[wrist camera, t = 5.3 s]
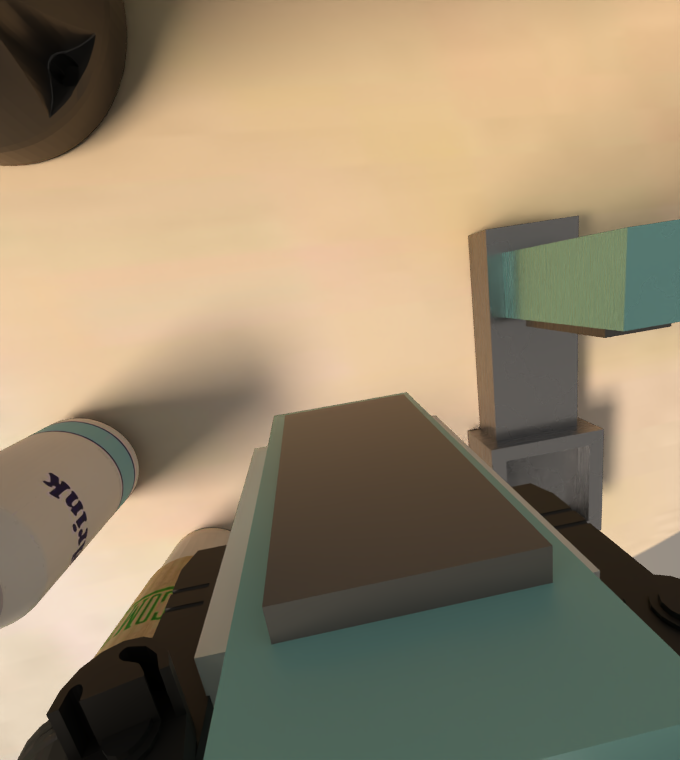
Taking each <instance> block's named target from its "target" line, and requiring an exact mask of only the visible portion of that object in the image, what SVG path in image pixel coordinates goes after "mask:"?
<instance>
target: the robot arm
mask: <svg viewBox="0 0 680 760" xmlns="http://www.w3.org/2000/svg"><path fill="white" fill-rule="evenodd" d="M126 43H127V32H126V17H125V10H124V3H123V0H0V165H1V166H17V165H27V164H33V163H38V162H42V161H45V160H48V159H51V158H54V157H56V156H58V155H61V154H63V153H65V152H67V151H68V150H70V149H72V148H73V147H75V146H76V145H78V144H79V143H80V142H82V141H83V140H84V139H85V138H86V137H88V136H89V135H90V133H91V132H92V131H93V130H94V129H95V128H96V127H97V126H98V125H99V123H100V122H101V121H102V119H103V118H104V116H105V115H106V114H107V112H108V110H109V108H110V106H111V105H112V103H113V100H114V98H115V96H116V94H117V91H118V88H119V85H120V82H121V78H122V74H123V69H124V64H125V57H126ZM432 417H433V418H434V419H435V420H436V421H437V422H438V423H439V424H440V425H441V426H442V427H443V428H444V429H445V430H446V431H447V432H448V433H449V434H450V435H451V436H452V437H453V438H454V439H455V440H456V441H457V442H458V443H460V444H461V445H462V446H463V447H464V448H465V449H466V450H467V451H468V452H469V453H470V454H471V455H472V456H473V457H474V458H475V459H476V460H477V461H478V462H479V463H480V464H481V465H482V466H483V467H484V468H485V469H486V470H487V471H488V472H490V473H491V474H492V475H493V476H494V477H495V478H496V479H497V480H498V481H499V482H500V483H501V484H502V485H503V486H504V487H505V488H506V489H507V490H508V491H509V492H510V493H511V494H512V495H513V496H514V497H515V498H516V499H517V500H518V501H520V502H521V503H522V504H523V505H524V506H525V507H526V508H527V509H528V510H529V511H530V512H531V513H532V514H533V515H534V516H535V517H536V518H537V519H538V520H539V521H540V522H541V523H542V524H543V525H544V526H545V527H546V528H547V529H548V530H550V531H551V532H552V533H553V534H554V535H555V536H556V537H557V538H558V539H559V540H560V541H561V542H562V543H563V544H564V545H565V546H566V547H567V548H568V549H569V550H570V551H571V552H572V553H573V554H574V555H575V556H576V557H577V558H578V559H580V560H581V561H582V562H583V563H584V564H585V565H586V566H587V567H588V568H589V569H590V570H591V571H592V572H593V573H594V574H595V575H596V576H597V577H598V578H599V579H600V580H601V581H602V582H603V583H604V584H605V585H606V586H607V587H608V588H610V589H611V590H612V591H613V592H614V593H615V594H616V595H617V596H618V597H619V598H620V599H621V600H622V601H623V602H624V603H625V604H626V605H627V606H628V607H629V608H630V609H631V610H632V611H633V612H634V613H635V614H636V615H637V616H638V617H640V618H641V619H642V620H643V621H644V622H645V623H646V624H647V625H648V626H649V627H650V628H651V629H652V630H653V631H654V632H655V633H656V634H657V635H658V636H659V637H660V638H661V639H662V640H663V641H664V642H665V643H666V644H667V645H668V646H670V647H671V648H672V649H673V650H674V651H675V652H676V653H677V654H678V655H679V656H680V579H678V578H675V577H672V576H664V575H653V574H652V573H651V572H650V571H648V570H647V569H646V568H645V567H644V566H642V565H641V564H639V563H638V562H637V561H636V560H635V559H634V558H632V557H631V556H630V555H629V554H628V553H626V552H625V551H624V550H623V549H621V548H620V547H619V546H618V545H616V544H615V543H614V542H613V541H612V540H610V539H609V538H608V537H607V536H605V535H604V534H603V533H602V532H600V531H599V530H598V529H597V528H596V527H594V526H593V525H592V524H591V523H587V522H586V519H584V518H583V517H582V516H581V515H580V514H578V513H577V512H576V511H575V510H574V511H572V509H571V507H570V506H568V505H567V504H566V503H565V502H563V501H562V500H561V499H560V498H559V497H557V496H556V495H555V494H554V493H552V492H549V491H547V490H545V489H543V488H540V487H538V486H536V485H534V484H531V483H529V484H524V485H519V486H514V487H511V486H510V485H509V484H508V483H506V482H505V481H504V480H503V479H502V478H501V477H500V476H499V475H498V474H497V473H496V472H495V471H494V470H493V469H492V468H491V467H490V466H488V465H487V464H486V463H485V462H484V461H483V460H482V459H481V458H480V457H479V456H478V455H477V454H476V453H475V452H474V451H473V450H472V449H471V448H469V447H468V446H467V445H466V444H465V443H464V442H463V441H462V440H461V439H460V438H459V437H458V436H457V435H456V434H455V433H454V432H453V431H451V430H450V429H449V428H448V427H447V426H446V425H445V424H444V423H443V422H442V421H441V420H440V419H439V418H438V417H437V416H432ZM267 448H268V446H266V447H260V448H255V449H254V453H253V456H252V460H251V463H250V467H249V470H248V474H247V477H246V481H245V484H244V487H243V491H242V494H241V498H240V501H239V505H238V508H237V512H236V515H235V519H234V522H233V525H232V529H231V532H230V536H229V539H228V543H227V545H223V546H218V547H213V548H208V549H203V550H198V551H197V552H196V553H195V555H194V556H193V557H192V558H191V559H190V560H189V561H188V563H187V564H186V565H185V566H184V567H183V568H182V569H181V572H180V574H179V576H178V579H177V581H176V583H175V586H174V588H173V594H172V595H170V598H169V600H168V602H167V605H166V607H165V613H163V614H162V616H161V619H160V621H159V623H158V626H157V628H156V630H155V633H154V635H153V637H152V638H149V637H139V638H134V639H130V640H125V641H123V642H121V643H119V644H117V645H115V646H113V647H111V648H109V649H107V650H105V651H103V652H101V653H100V654H99V655H97V656H96V657H95V658H93V659H92V660H91V661H90V662H88V663H87V664H86V665H84V666H83V667H82V668H80V669H79V670H78V672H77V673H76V674H75V675H74V676H73V677H72V678H71V679H70V680H69V681H68V683H67V684H66V685H65V686H64V687H63V688H62V689H61V690H60V692H59V694H58V695H57V697H56V699H55V700H54V702H53V704H52V706H51V707H50V709H49V711H48V712H47V714H46V715H47V717H48V719H49V721H50V723H51V725H52V727H53V729H54V731H55V733H56V735H57V738H58V740H59V742H60V744H61V746H62V748H63V750H64V752H65V754H66V756H67V758H68V760H203V758H204V753H205V749H206V744H207V739H208V734H209V729H210V724H211V719H212V715H213V710H214V705H215V700H216V695H217V690H218V686H219V681H220V676H221V671H222V666H223V661H224V656H225V652H226V647H227V642H228V637H229V632H230V627H231V622H232V618H233V613H234V608H235V603H236V598H237V593H238V589H239V584H240V579H241V574H242V569H243V564H244V559H245V555H246V550H247V545H248V540H249V535H250V530H251V525H252V521H253V516H254V511H255V506H256V501H257V496H258V492H259V487H260V482H261V477H262V472H263V467H264V462H265V458H266V453H267Z"/></svg>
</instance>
